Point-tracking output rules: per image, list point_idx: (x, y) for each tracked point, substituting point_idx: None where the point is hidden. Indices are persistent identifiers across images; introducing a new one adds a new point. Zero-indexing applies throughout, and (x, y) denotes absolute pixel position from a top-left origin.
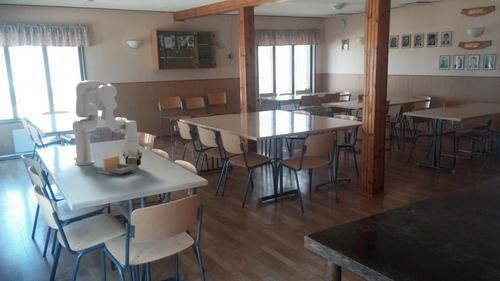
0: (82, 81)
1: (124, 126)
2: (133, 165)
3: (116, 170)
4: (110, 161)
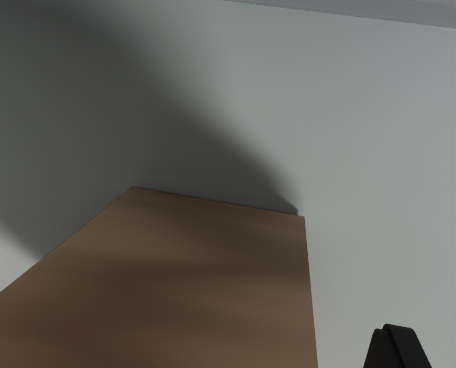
0: None
1: None
2: None
3: None
4: None
